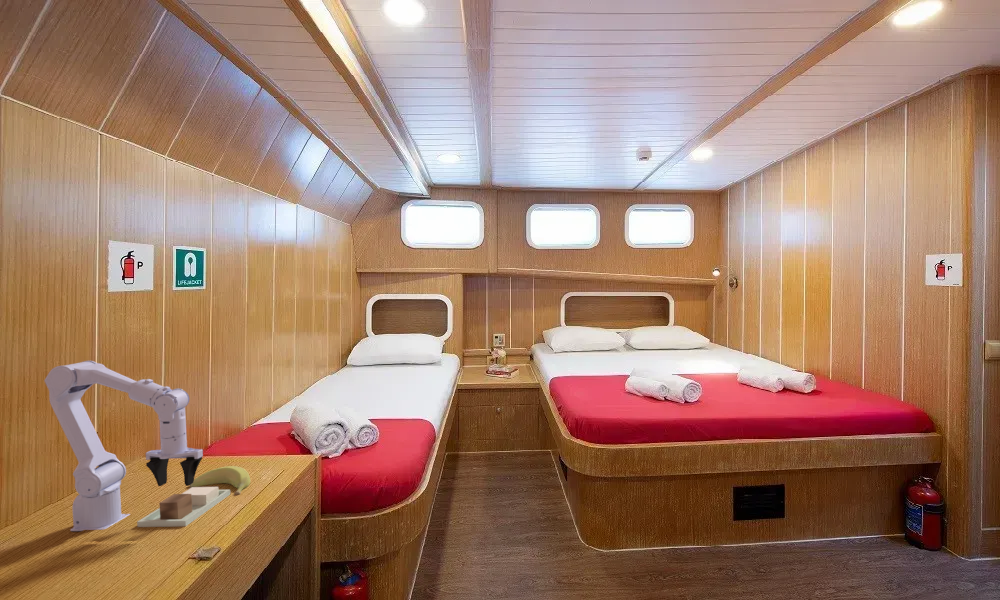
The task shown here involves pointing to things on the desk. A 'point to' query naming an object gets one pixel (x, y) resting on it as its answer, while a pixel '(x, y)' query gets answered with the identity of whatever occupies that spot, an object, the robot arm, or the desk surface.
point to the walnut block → (176, 507)
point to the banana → (224, 477)
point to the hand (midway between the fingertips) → (175, 484)
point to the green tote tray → (197, 511)
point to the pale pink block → (202, 494)
